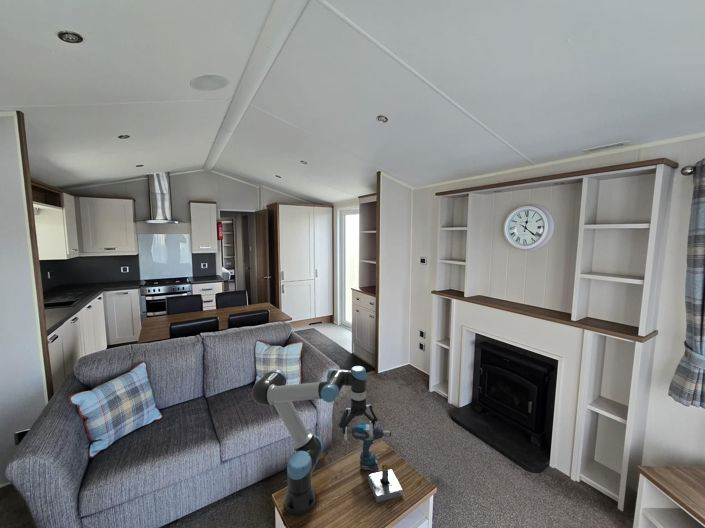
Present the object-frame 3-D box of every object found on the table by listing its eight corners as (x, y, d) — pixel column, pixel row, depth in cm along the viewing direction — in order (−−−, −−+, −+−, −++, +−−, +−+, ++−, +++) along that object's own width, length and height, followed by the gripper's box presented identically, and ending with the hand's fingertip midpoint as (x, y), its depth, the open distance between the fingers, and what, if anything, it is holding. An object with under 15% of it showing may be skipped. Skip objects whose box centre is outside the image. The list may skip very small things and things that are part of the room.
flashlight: (379, 483, 168) (379, 463, 167) (385, 482, 169) (386, 462, 168) (383, 493, 162) (384, 472, 161) (390, 492, 163) (390, 470, 162)
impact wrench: (390, 475, 174) (390, 433, 171) (350, 468, 179) (350, 428, 176) (391, 464, 182) (391, 424, 179) (353, 458, 187) (353, 419, 184)
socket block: (376, 502, 157) (376, 495, 157) (367, 480, 170) (367, 474, 170) (402, 495, 161) (402, 489, 161) (391, 475, 174) (391, 469, 174)
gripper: (336, 405, 151) (336, 446, 153) (384, 397, 157) (383, 436, 160) (332, 397, 158) (332, 436, 160) (379, 390, 165) (378, 427, 167)
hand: (358, 436), depth 160 cm, fingers open, 13 cm apart
